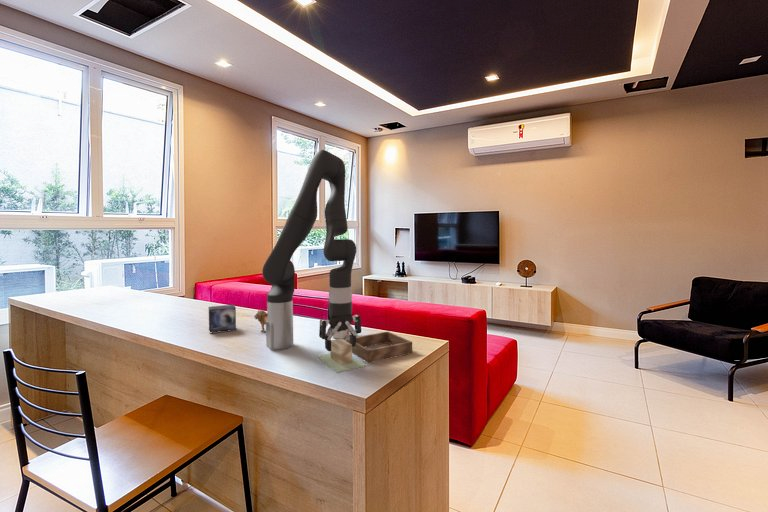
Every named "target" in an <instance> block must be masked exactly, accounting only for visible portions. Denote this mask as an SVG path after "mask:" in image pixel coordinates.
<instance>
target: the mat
mask: <svg viewBox="0 0 768 512" xmlns="http://www.w3.org/2000/svg"><path fill="white" fill-rule="evenodd" d="M317 358H318V359H319V360H320V361H322V362H323V363H324V364H326V365H327V366H329V367H330V368H331V369H332V368H333V369H332V370H334V371H335V372H336V371H337V373H342V372H346V370H347V371H350V370H355V369H359V368H363V366H364V367H367V364H366V363H364V362H363V361H361V360H359V359H358V358H356V357H354V356H353V355H352V363H349V364H344V365H340V364H339V363H337V362H336V361H334V360H333V359H332V358H331V353H328V354H322V355H321V354H320V355H317ZM341 371H342V372H341Z"/></svg>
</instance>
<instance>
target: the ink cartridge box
mask: <svg viewBox="0 0 768 512" xmlns="http://www.w3.org/2000/svg"><path fill="white" fill-rule="evenodd" d="M349 334H350V332H349V331H348V330H346V331H340V332H337V331H336V333H335V334H334V335H333V336H332V339H343V340H344V339H346V337H347V336H348V335H349Z"/></svg>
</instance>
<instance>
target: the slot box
mask: <svg viewBox="0 0 768 512" xmlns="http://www.w3.org/2000/svg"><path fill="white" fill-rule="evenodd" d="M345 339H346V340H345V341H346V342H348V343H350V337H349V338H345ZM386 342H387V343H386ZM381 343H382V344H389V345H386V346H381V347H376V348H372V349H371V348H370V349H369V348H367V347H371V345H372V346H376V345H375V344H377V345H381ZM391 344H392V345H391ZM365 346H367V347H365ZM408 353H410V354H413V341H412V340H409V339H406V338H405V337H402V336H399V335H397V334H395V333H393V332H390V331H383V332H376V333H370V334H366V335H360V336H356V345H355V347H352V355H355V356H356V355H357V356H356V357H357V358H359V359H361V360H363V361H364V360H365V361H364V362H365V363H374V362H373V361H375V362H378V360H379V361H383V360H387V358H388V359H392V358H396V357H395V356H397V357H401V356H404V354H406V355H409V354H408ZM400 355H401V356H400ZM391 357H392V358H391Z"/></svg>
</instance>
